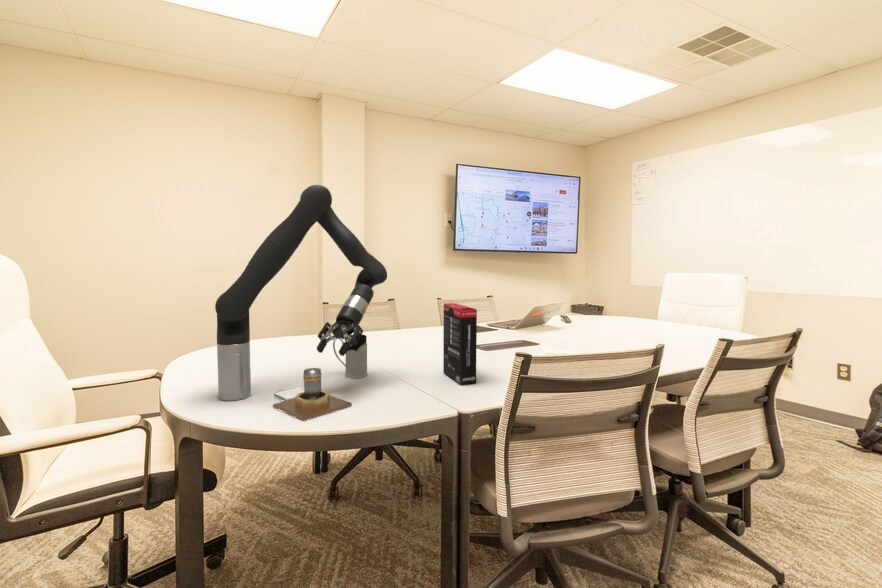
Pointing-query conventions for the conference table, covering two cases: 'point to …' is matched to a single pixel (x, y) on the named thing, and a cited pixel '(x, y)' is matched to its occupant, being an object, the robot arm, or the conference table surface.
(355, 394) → the conference table surface
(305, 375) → the cylinder
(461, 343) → the graphics card box
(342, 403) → the octagon frame base plate
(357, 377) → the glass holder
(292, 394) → the external hard drive
